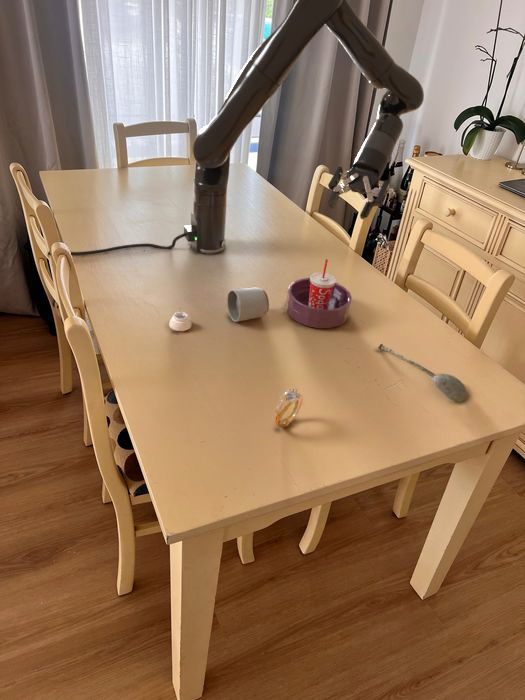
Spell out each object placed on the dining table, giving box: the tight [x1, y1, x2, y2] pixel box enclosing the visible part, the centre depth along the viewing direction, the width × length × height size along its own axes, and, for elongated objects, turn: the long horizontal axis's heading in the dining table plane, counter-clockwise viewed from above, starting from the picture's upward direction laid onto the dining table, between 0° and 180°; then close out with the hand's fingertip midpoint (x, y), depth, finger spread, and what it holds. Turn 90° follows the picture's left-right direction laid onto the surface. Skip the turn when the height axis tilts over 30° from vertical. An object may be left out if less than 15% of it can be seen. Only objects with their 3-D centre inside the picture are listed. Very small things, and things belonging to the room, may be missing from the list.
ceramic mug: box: [226, 287, 270, 323], centre depth 123 cm, size 11×8×8 cm
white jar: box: [168, 311, 193, 332], centre depth 117 cm, size 5×3×5 cm
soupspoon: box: [377, 343, 468, 403], centre depth 112 cm, size 22×3×7 cm
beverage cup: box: [308, 258, 337, 309], centre depth 124 cm, size 6×6×14 cm
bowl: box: [285, 277, 352, 329], centre depth 127 cm, size 15×15×6 cm
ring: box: [273, 388, 304, 429], centre depth 94 cm, size 7×3×8 cm, turn 135°
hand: (345, 212), depth 126 cm, fingers open, 8 cm apart
